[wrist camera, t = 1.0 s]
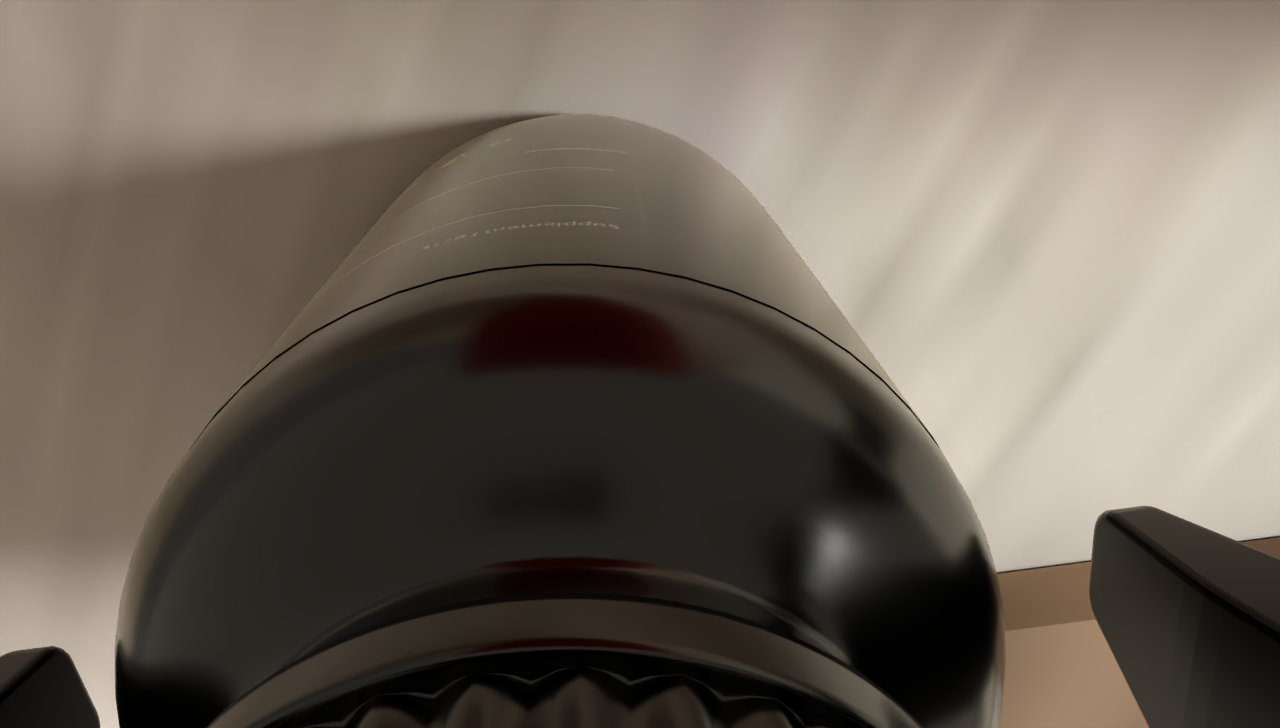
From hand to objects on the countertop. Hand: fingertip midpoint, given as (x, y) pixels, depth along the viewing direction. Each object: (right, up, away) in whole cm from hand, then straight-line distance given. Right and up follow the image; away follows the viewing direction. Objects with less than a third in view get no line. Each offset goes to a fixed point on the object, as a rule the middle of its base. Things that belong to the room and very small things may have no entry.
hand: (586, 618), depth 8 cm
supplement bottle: (-1, +3, +7) cm, 8 cm away
